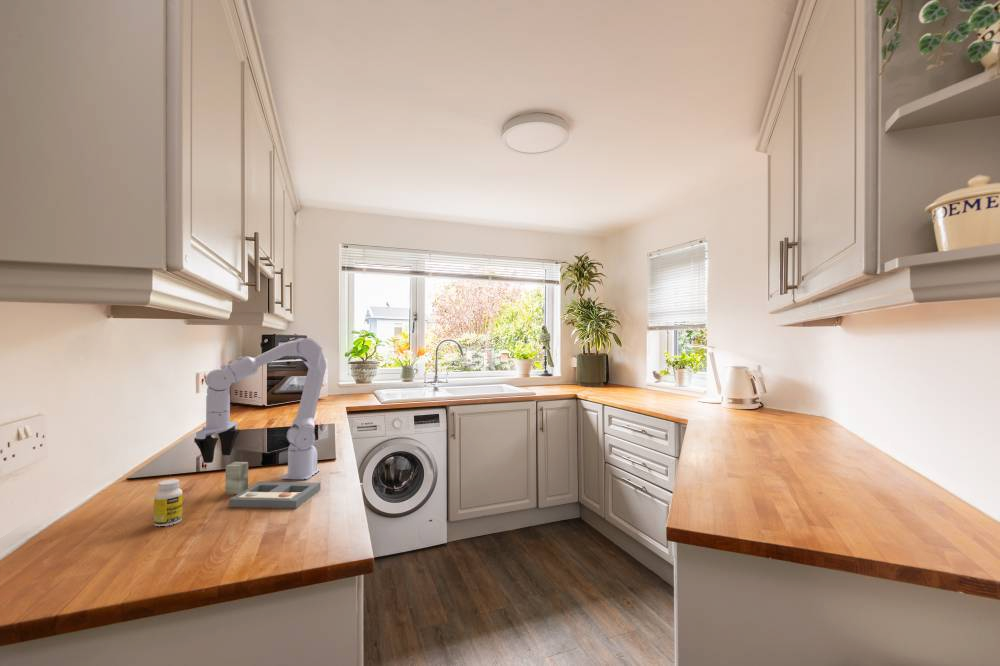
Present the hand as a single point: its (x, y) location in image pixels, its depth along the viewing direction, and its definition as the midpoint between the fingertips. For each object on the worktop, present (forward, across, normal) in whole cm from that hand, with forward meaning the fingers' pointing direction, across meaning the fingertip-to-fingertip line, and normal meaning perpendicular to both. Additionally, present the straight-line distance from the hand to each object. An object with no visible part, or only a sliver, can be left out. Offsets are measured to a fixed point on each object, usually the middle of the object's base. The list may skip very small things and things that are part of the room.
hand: (217, 458), depth 125 cm
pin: (+9, 0, +6) cm, 11 cm away
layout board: (+9, +4, +20) cm, 22 cm away
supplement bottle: (+10, +21, +3) cm, 23 cm away
